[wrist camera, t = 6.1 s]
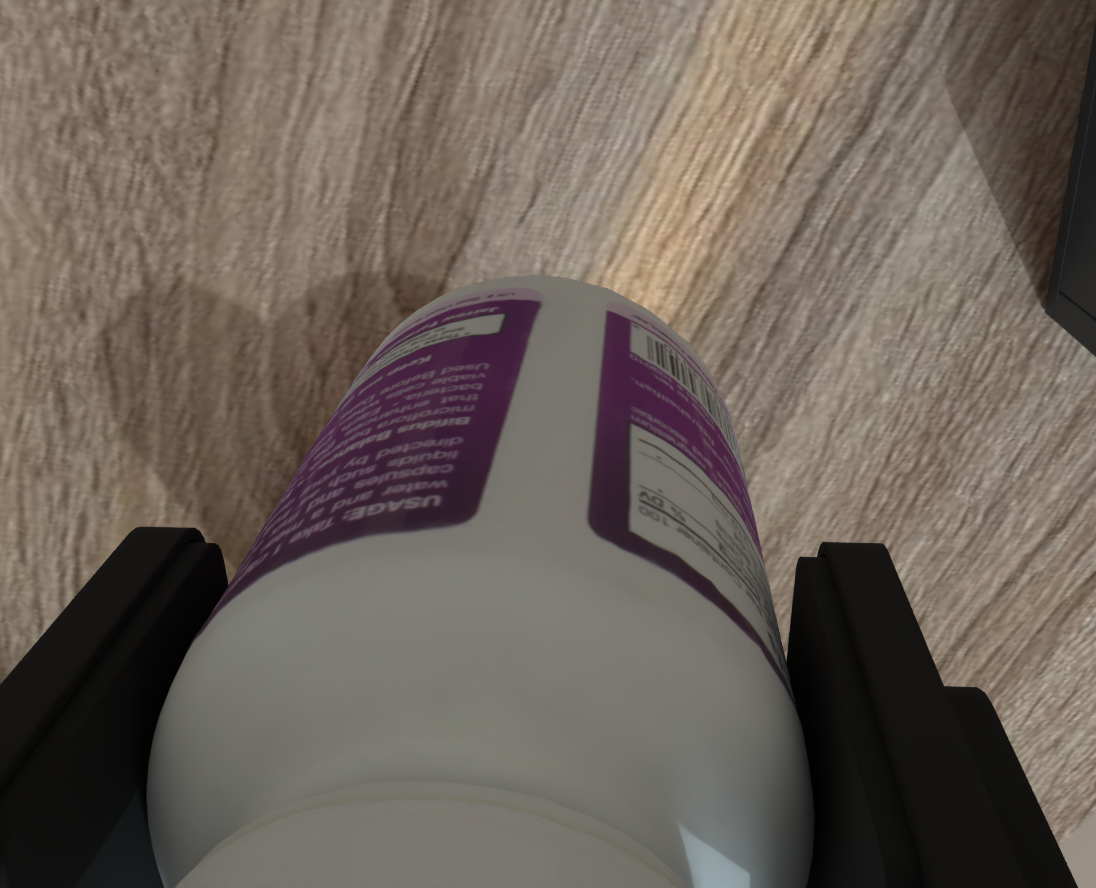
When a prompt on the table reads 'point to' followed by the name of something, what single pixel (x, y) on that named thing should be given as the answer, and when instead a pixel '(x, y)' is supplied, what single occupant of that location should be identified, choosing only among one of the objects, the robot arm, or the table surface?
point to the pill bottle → (497, 630)
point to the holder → (1078, 230)
